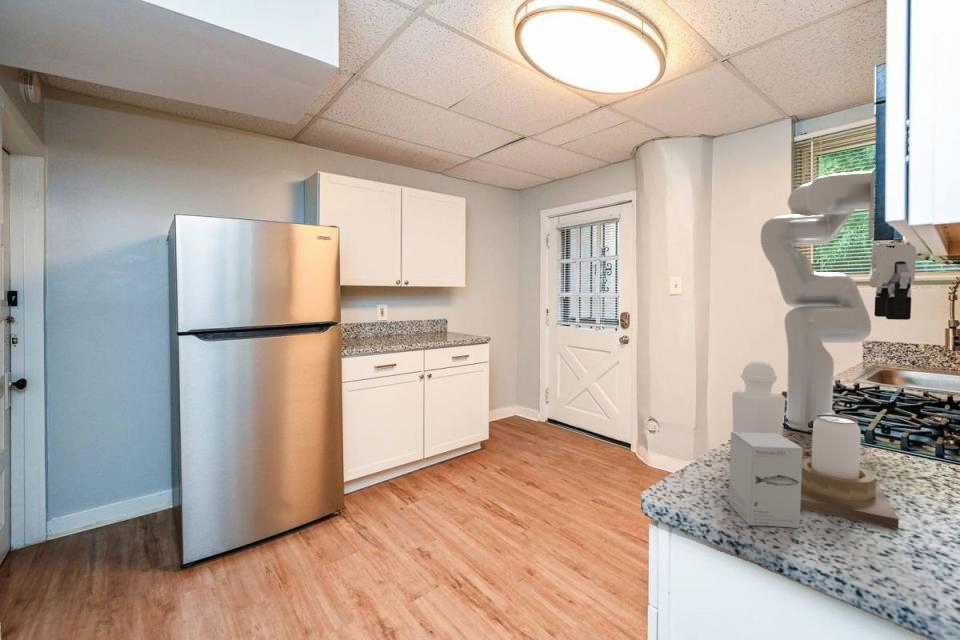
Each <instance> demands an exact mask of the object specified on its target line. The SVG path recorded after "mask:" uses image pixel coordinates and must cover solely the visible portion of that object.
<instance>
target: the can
mask: <svg viewBox="0 0 960 640" xmlns="http://www.w3.org/2000/svg"><path fill="white" fill-rule="evenodd" d="M816 417H817V418H816V420H815V421H814V423H813V432H812V434H811V435H812V437H811V438H812V439H811V458H812V464H811V469H812V470H814V471H816V472H819V473H822V474H825V475H828V476H832V477H838V478H844V479H859V467H861V466H860V464H861V463H860V462H861V461H860V460H861V439H862V437H861V436H862V435H861V433H862V432H861V429H860V426H859V425H858V422H859V421H858V420H857V419H855V418H853V417H850V416H848V415H847V416H846V415H840V414H833V413H832V414H818V415H816Z"/></svg>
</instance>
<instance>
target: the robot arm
mask: <svg viewBox="0 0 960 640" xmlns="http://www.w3.org/2000/svg"><path fill="white" fill-rule="evenodd" d="M874 188H875V167H874V168H873V169H872V170H869V171H868V170H867V171H852V172H851V171H850V172H840V173H839V172H838V173H833V174H832V173H831V174H828V175H827V174H826V175H824V176H819V177H816V178H814V179H813V180H812V181H811V182H808V183H805V184H802V185H800V186H797V187H796V188H795V189H794V190H793V191H792V192H791V193H790V194H789V195H788V199H787V206H788V208H789V209H790V211H792V213H794V214H789V215H788V214H787V215H781V216H776V217H772V218H770V219H768V220H766V221H765V223H763V225H762V227H761V230H760V244H761V248H762V252H763V253H764V256H765V258H766V259H767V261H768V263H769V264H770V265H771V267H772V268H773V271H774V273H775V276H776V280H777V283H778V288H779V289H780V293H781V295H782V298H783V300H784V302H785V304H786V305H787V306H789V307H791V308H792V309H791V310H789V311H788V312H787V313H786V314H785V317H784V329H785V336H786V341H787V342H786V343H787V377H786V378H787V381H786V382H787V384H786V386H787V387H786V418H787V419H788V422H785V423H786V424H787V425H788V426H789V427H788V428H790V427H791V428H790V429H794V430H797V431H798V430H799V431H802V432H808V431H809V433H813V432H812V431H813V428H809V427H808V423H809V422H811V421H813V423H814V421H815V420H816V418H817V417H816V415H818V414H833V397H834V395H833V392H834V369H835V368H834V366H835V365H834V364H835V363H834V358H833V356H832V355H831V353H830V352H829V351H828V350H827V348H825V346H824V345H823V344H853V343H855V344H856V343H861V342H863V341H865V340H867V339H868V337H869V336H870V334H871V330H872V321H871V318H870V315H869V313H868V310H867V307H866V305H865V303H864V300H863V298H862V296H861V293H860V291H859V287H858V286H857V283H856V282H855V280H854V279H853V278H852V277H850V275H847V274H846V273H843V272H842V273H841V272H818V271H815V269H814V268H813V264H812V263H811V259H810V258H809V257H808V256H807V255H806V254H805V253H803V252H802V251H801V250H800V249H798V248H795V247H793V246H809V245H824V244H829V243H830V242H833V240H835V239H836V238H837V236H838V235H839V233H840V232H841V230H842V229H844V226H845V225H846V224H847V222H848V221H849V220H850V218H851V217H852V215H853V214H854V213H855V211H856V210H869V211H868V235H867V237H868V238H870V239H874V238H873V223H874ZM916 251H917V246H916V247H913V246H911V245H907V244H905V245H900V246H895V247H894V248H893V247H891V248H890V247H886V246H881V245H877V244H875V243H874V241H873V243H872V250H871V260H870V268H869V269H870V270H869V279H868V280H869V282H868V285H869V286H870V287H871V288H875V289H876V292H875V297H874V311H873V313H874V316H875V317H877V318H879V317H880V318H881V317H882V318H883V317H885V319H886V320H900V321H901V320H903V321H904V320H906V321H907V320H908V321H909V320H910V319H911V317H912V316H911V313H912V289H911V287H912V286H913V284H914V283H915V278H916V266H917V265H916V264H917V263H916V261H917V257H916V255H917V252H916ZM810 430H812V431H810Z"/></svg>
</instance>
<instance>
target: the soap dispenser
mask: <svg viewBox="0 0 960 640" xmlns="http://www.w3.org/2000/svg"><path fill="white" fill-rule="evenodd" d="M740 378H741V379H742V381H743V383H744V386H745V389H740V390H734V391H733V392H732V394H731V398H732V401H731V402H732V429H733V430H732V432H749V433H777V434H779V435H781V436H783V432H784V425H783V423H784V416H785V409H786V408H785V407H786V397H785V396H784V395H783V394H780V393H776V392H772V391H773V390H772V389H773V386H774V384H775V382H777V380H778V378H777V375H776V372H775V370H774V368H773V366H771V364H769V363H768V362H765V361H761V360H754V361H750V362H748V363H747V364H745V366H744V367H743V369H742V372H741V375H740Z"/></svg>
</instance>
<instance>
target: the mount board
mask: <svg viewBox="0 0 960 640" xmlns="http://www.w3.org/2000/svg"><path fill="white" fill-rule="evenodd" d="M811 464H812V457H808V458H806V457H805V458H804V459H803V458H802V479H801V505H800V510H808V511H811V512H817V513H820V514H821V513H823V514H825V515H831V516H835V517H841V518H844V519H850V520H853V521H855V520H856V521H859V522H860V521H861V522H864V523H868V524H873V525H878V526H882V527H888V528H892V529H893V528H894V529H897V530H898V529H899V526H900V525H899V522H900V520H899V517H898V516H897V514H896V512H895V510H894V508H893V507H892V505H891V503H890V501H888V498H887V497H886V495H885V493H884V492H883V490H882V488H881V486H880V485H879V483H878V482H877V477H875V475H874V473H873V472H872V471H869V470H867V469H865V468H863V467H861V466H860V467H859V479H844V478H838V477H832V476H828V475H825V474H822V473H819V472H816V471H814V470H812V469H811Z"/></svg>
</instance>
